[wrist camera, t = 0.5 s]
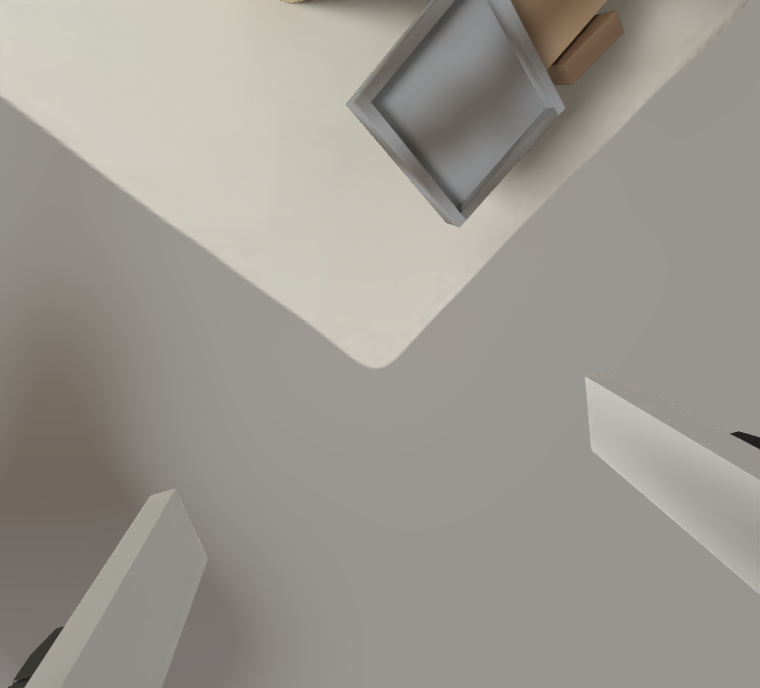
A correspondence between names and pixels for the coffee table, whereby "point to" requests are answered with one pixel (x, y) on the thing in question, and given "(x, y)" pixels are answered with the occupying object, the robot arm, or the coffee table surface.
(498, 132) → the balance beam
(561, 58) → the beam stand
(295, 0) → the brass weight
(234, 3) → the coffee table surface
